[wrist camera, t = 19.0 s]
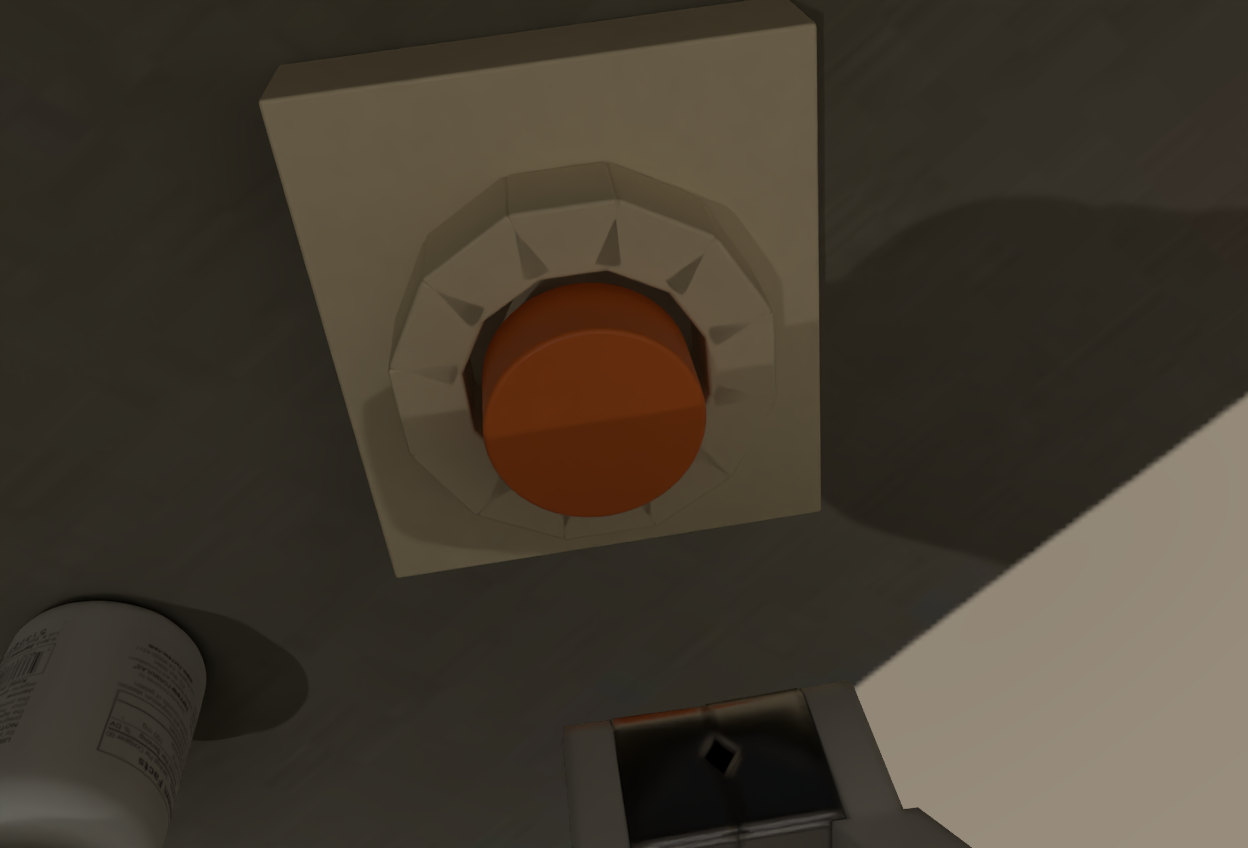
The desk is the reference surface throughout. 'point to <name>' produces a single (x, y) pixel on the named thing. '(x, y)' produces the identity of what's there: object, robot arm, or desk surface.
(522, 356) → the power button
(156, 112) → the desk surface
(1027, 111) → the desk surface
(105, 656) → the pill bottle
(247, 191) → the desk surface
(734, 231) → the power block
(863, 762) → the robot arm
